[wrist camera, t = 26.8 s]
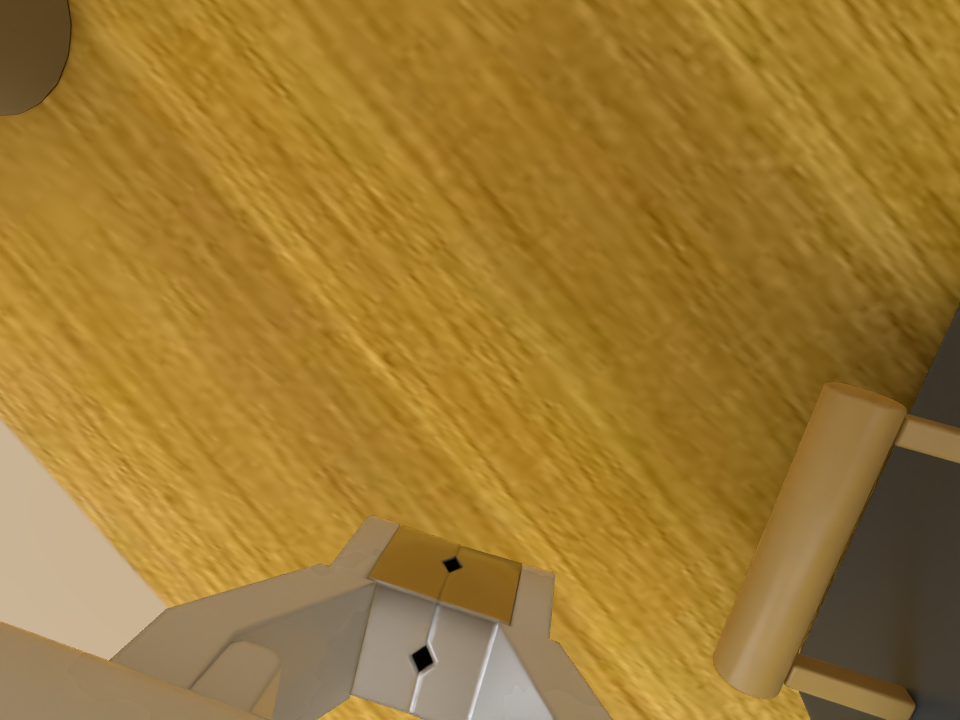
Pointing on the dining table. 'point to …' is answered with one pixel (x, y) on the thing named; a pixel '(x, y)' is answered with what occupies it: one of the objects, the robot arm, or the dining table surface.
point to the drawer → (861, 561)
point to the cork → (31, 51)
